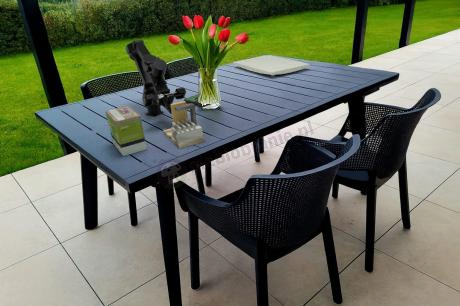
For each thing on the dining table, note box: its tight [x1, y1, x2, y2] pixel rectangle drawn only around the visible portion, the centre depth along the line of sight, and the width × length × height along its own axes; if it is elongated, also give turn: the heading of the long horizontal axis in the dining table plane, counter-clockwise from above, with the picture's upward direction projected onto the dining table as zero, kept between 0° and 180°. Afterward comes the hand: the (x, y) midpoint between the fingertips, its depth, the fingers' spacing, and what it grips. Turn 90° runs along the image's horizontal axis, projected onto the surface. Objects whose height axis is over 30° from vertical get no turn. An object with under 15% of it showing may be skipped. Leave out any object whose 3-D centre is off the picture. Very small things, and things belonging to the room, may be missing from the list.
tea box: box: [105, 105, 148, 157], centre depth 140 cm, size 15×10×15 cm, turn 32°
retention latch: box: [171, 100, 189, 124], centre depth 145 cm, size 6×6×13 cm
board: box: [232, 54, 311, 77], centre depth 247 cm, size 45×32×5 cm
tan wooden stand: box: [162, 103, 206, 149], centre depth 146 cm, size 18×11×14 cm, turn 30°
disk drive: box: [183, 94, 212, 109], centre depth 189 cm, size 10×3×15 cm
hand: (171, 113), depth 154 cm, fingers closed
